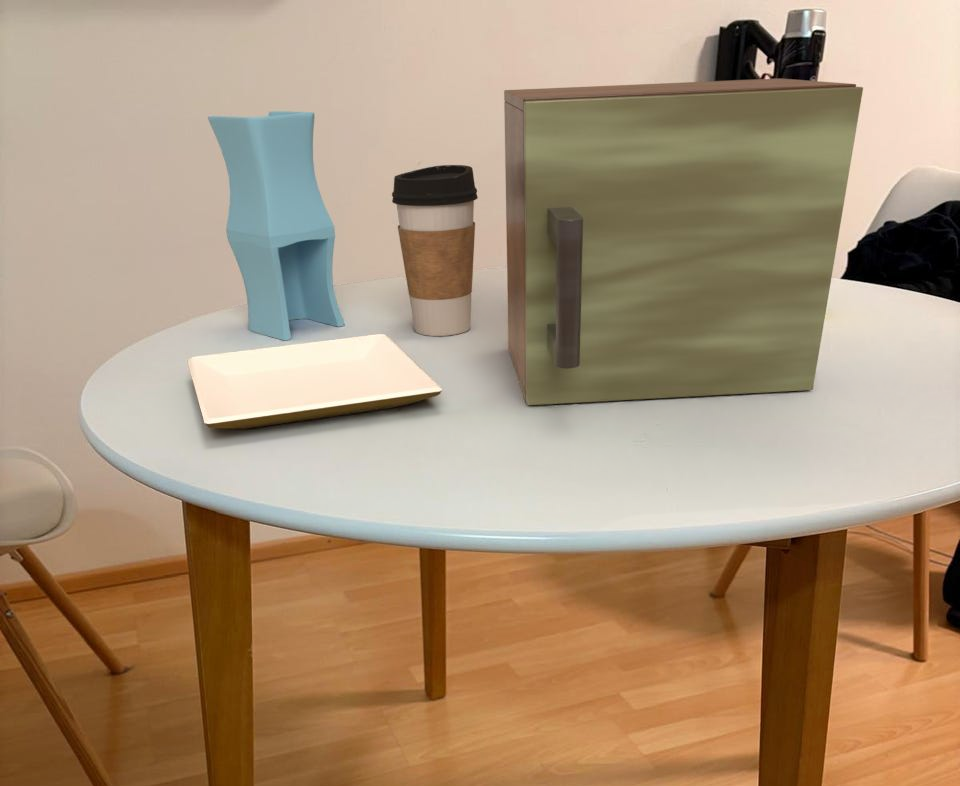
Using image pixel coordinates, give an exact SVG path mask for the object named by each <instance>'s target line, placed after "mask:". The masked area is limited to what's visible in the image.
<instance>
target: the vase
mask: <svg viewBox="0 0 960 786" xmlns="http://www.w3.org/2000/svg"><path fill="white" fill-rule="evenodd" d="M207 120H208V122H209V125H210V127H211V129H212V131H213V134H214V136H215V138H216V141H217V143H218V146H219V148H220V151H221V154H222V157H223V159H224V163H225V167H226V172H227V177H228V183H229V207H228V214H227V221H226V229H225V231H226V238H227V241H228V244H229V246H230V248H231V251H232V253H233V256H234V258H235V260H236V262H237V263H236V264H237V265H238V268H239V272H240V274H241V277H242V281H243V285H244V289H245V295H246V303H247V312H248V313H247V315H248V318H247V319H248V320H247V327H248V328H247V329H248V330H249V331H250V332H254V333H257V334H259V335H264V336H267V337H271V338H274V339H277V340H281V341H284V342H285V341H289V340H292V337H291V329H290V321H294V320H310V321H314V322H319V323H322V324H326V325H329V326H334V327H338V328H340V327H343V326H346V324H345V321H344V318H343V316H342V313H341V310H340V307H339V304H338V300H337V297H336V292H335V287H334V278H333V277H334V276H333V261H334V251H335V250H334V249H335V241H336V231H335V225H334V222H333V220H332V218H331V216H330V214H329V212H328V209H327V208H326V205H325V203H324V201H323V198H322V194H321V191H320V189H319V186H318V182H317V181H318V180H317V177H316V173H315V172H316V171H315V164H314V127H315V112H314V111H289V110H288V111H287V110H284V111H283V110H273V111H268V115H266V116H265V115H263V116H221V115H219V116H218V115H211V116H207Z"/></svg>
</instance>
